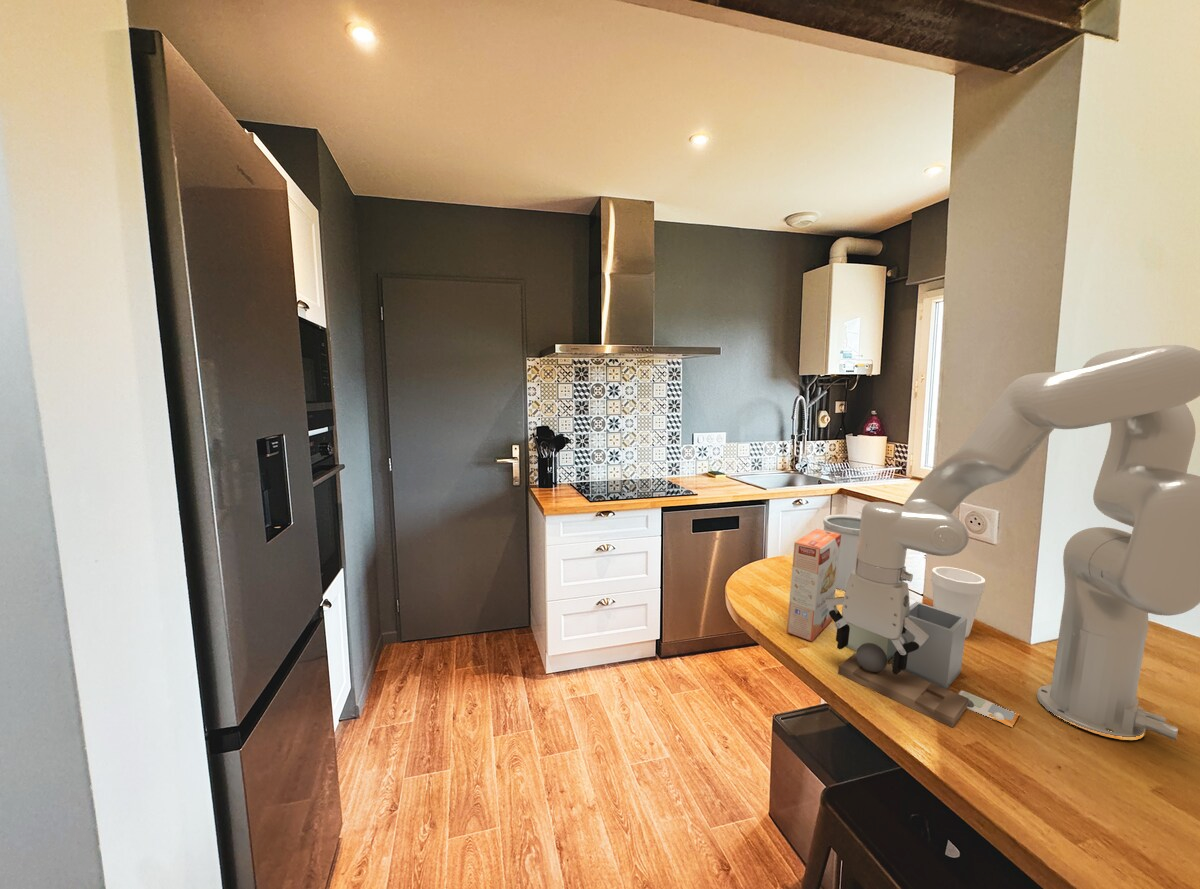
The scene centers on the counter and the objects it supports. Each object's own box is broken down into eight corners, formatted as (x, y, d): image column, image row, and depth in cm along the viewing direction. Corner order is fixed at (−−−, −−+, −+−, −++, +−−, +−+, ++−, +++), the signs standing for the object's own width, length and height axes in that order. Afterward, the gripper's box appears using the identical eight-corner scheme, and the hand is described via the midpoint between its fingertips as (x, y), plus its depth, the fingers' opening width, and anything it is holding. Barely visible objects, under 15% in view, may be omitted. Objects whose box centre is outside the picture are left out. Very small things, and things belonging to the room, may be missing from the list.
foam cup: (989, 639, 103) (996, 581, 101) (954, 643, 101) (961, 585, 99) (948, 618, 112) (954, 565, 111) (916, 621, 110) (921, 568, 108)
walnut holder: (967, 707, 81) (968, 698, 81) (952, 727, 76) (953, 718, 76) (856, 658, 95) (857, 651, 94) (838, 673, 90) (838, 665, 89)
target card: (1019, 717, 79) (1020, 709, 79) (1012, 730, 76) (1013, 722, 76) (961, 692, 85) (962, 685, 85) (952, 704, 82) (953, 696, 82)
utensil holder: (823, 590, 127) (828, 526, 124) (815, 569, 141) (819, 511, 139) (885, 598, 122) (892, 532, 120) (871, 576, 137) (876, 516, 134)
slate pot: (960, 672, 91) (967, 617, 89) (946, 689, 85) (953, 631, 84) (910, 652, 97) (916, 601, 96) (894, 667, 92) (900, 613, 90)
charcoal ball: (890, 671, 89) (892, 646, 88) (879, 681, 85) (881, 655, 85) (862, 659, 92) (864, 635, 92) (850, 668, 89) (852, 643, 89)
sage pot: (902, 649, 98) (907, 598, 97) (885, 663, 93) (890, 610, 92) (859, 632, 105) (863, 584, 103) (841, 644, 100) (846, 594, 98)
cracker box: (814, 643, 100) (821, 547, 97) (785, 633, 104) (792, 540, 101) (835, 620, 110) (842, 533, 107) (808, 611, 114) (814, 527, 112)
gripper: (941, 582, 82) (929, 674, 84) (840, 552, 95) (831, 632, 98) (926, 593, 77) (914, 690, 80) (822, 560, 91) (813, 644, 93)
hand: (868, 658), depth 89 cm, fingers open, 9 cm apart
